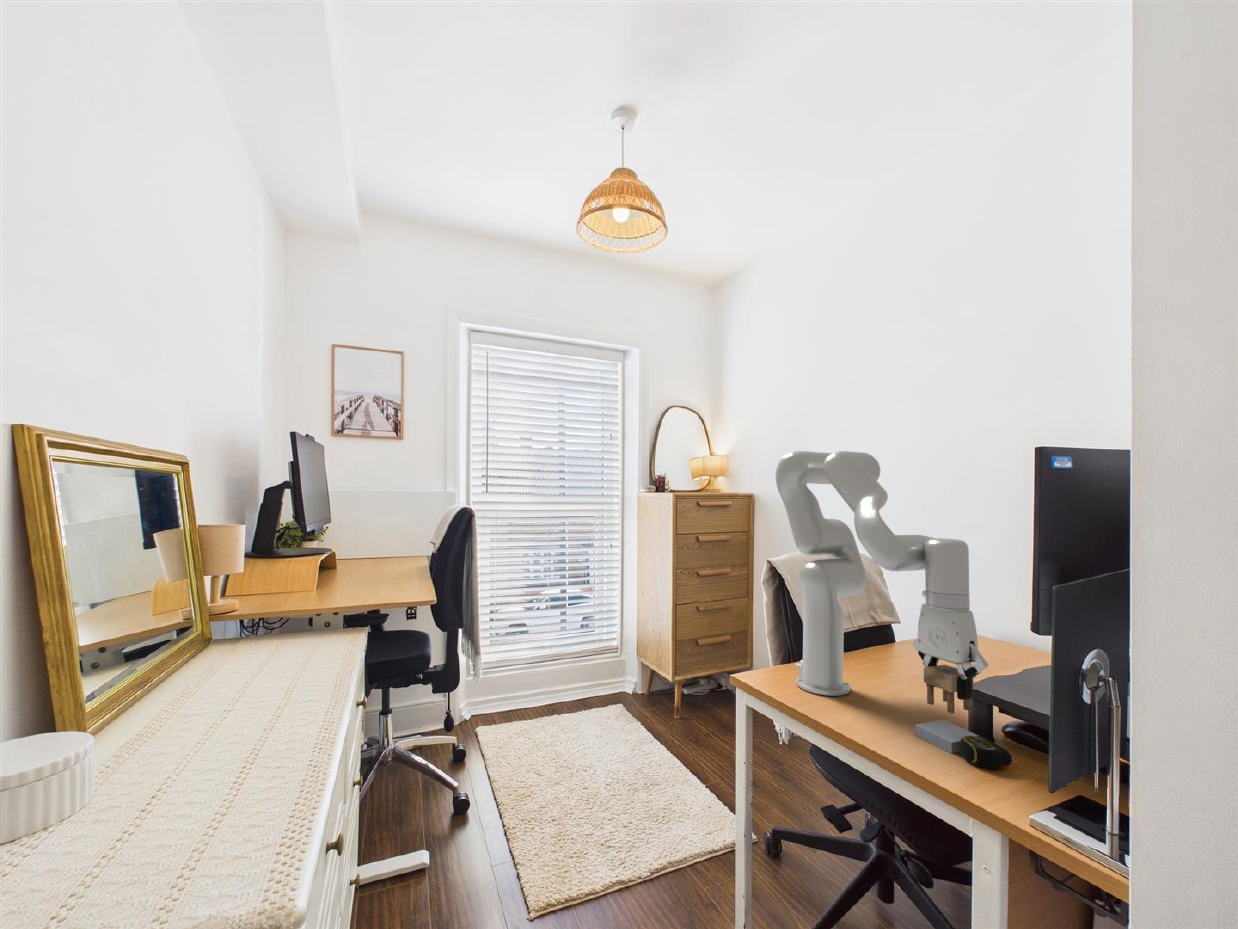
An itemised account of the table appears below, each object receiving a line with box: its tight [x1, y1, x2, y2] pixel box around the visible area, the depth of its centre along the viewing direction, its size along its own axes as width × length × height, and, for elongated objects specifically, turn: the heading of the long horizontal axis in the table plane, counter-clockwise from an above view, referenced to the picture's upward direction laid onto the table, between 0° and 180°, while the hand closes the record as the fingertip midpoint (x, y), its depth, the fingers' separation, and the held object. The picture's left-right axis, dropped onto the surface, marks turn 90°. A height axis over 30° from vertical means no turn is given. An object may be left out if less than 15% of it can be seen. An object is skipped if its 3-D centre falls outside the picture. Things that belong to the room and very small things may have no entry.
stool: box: [923, 664, 975, 714], centre depth 106 cm, size 6×6×7 cm
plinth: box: [914, 719, 979, 754], centre depth 106 cm, size 8×8×2 cm
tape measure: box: [959, 735, 1013, 770], centre depth 98 cm, size 7×7×4 cm
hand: (948, 691), depth 106 cm, fingers closed on stool, 6 cm apart
